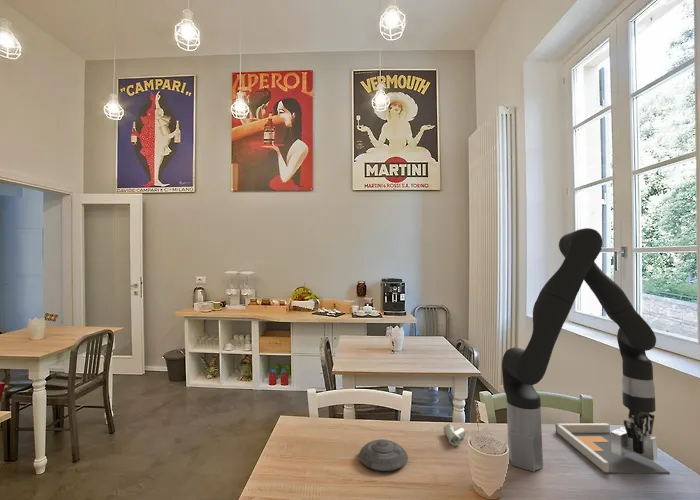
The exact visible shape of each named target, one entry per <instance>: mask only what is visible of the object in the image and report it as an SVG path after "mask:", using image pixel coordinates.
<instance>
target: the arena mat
mask: <svg viewBox="0 0 700 500" xmlns="http://www.w3.org/2000/svg"><path fill="white" fill-rule="evenodd" d="M555 433H556V434H557V435H559V436H560V437H561V438H562V439H563V440H564V441H566V442H567V443H568V444H569V445H570V446H571V447H573V448H574V450H576V451H577V452H579V453H580V454H581V455H582V456H584V457H585V458H586V459H587V460H588V461H589V462H590V463H592V465H594V466H595V467H596V468H598V469H599V470H600V471H601V472H602V473H604V474H633V475H634V474H637V475H638V474H641V475H643V474H647V475H648V474H652V475H654V474H655V475H656V474H657V475H658V474H659V475H660V474H662V475H663V474H665V475H666V474H670V471H669V470H667V469H665V468H664V467H663V466H661V465H660V464H658V463H657V462H655V460H654V461H653V460H650V459H648V458H645V457H643V456H640V455H638V454H635V453H633V452H629V453H627V454H625V455H623V456H619V455H617V454H614V453H612V448H611V432H610V433H572V434H573V435H574V436H575V437H577V438H578V439H579V440H580V441H582V442H583V443H584V444H585V445H587V446H588V447H589V448H591V449H592V450H593V451H594V452H596V453H597V454H598V455H599V456H601V457H602V458H603V459H605V460H606V461H607V462H608V465H609V472H604V471H603V470H602V469H600V468H599V467H598V466H597V465H596V464H594V463H593V462H592V461H591V460H590V459H588V458H587V457H586V456H585V455H584V454H582V453H581V452H580V451H579V450H578V449H577V448H575V447H574V446H573V445H572V444H571V443H569V442H568V441H567V440H566V439H565V438H563V437H562V436H561V435H560V434H559V433H557V432H556V431H555Z"/></svg>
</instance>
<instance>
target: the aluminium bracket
mask: <svg viewBox="0 0 700 500" xmlns="http://www.w3.org/2000/svg"><path fill="white" fill-rule="evenodd" d="M610 433H611V448H612V453H614V454H617V455H619V456H623V455H625V454H627V453H629V452H633V453H635V454H638V455H640V456H643V457H645V458H648V459H650V460H652V461H654V462H655V461H656V460H658V438H657V436H653V435H652V434H651V435H650V434H646V433H643V453H642V454H639V453H636V452H634V451H633V439H632V438H629V437H628V435H627V432H626V429H625V426H622V427H619V428H617V429H614V430H612V431H610ZM638 434H639V433H638Z"/></svg>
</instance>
